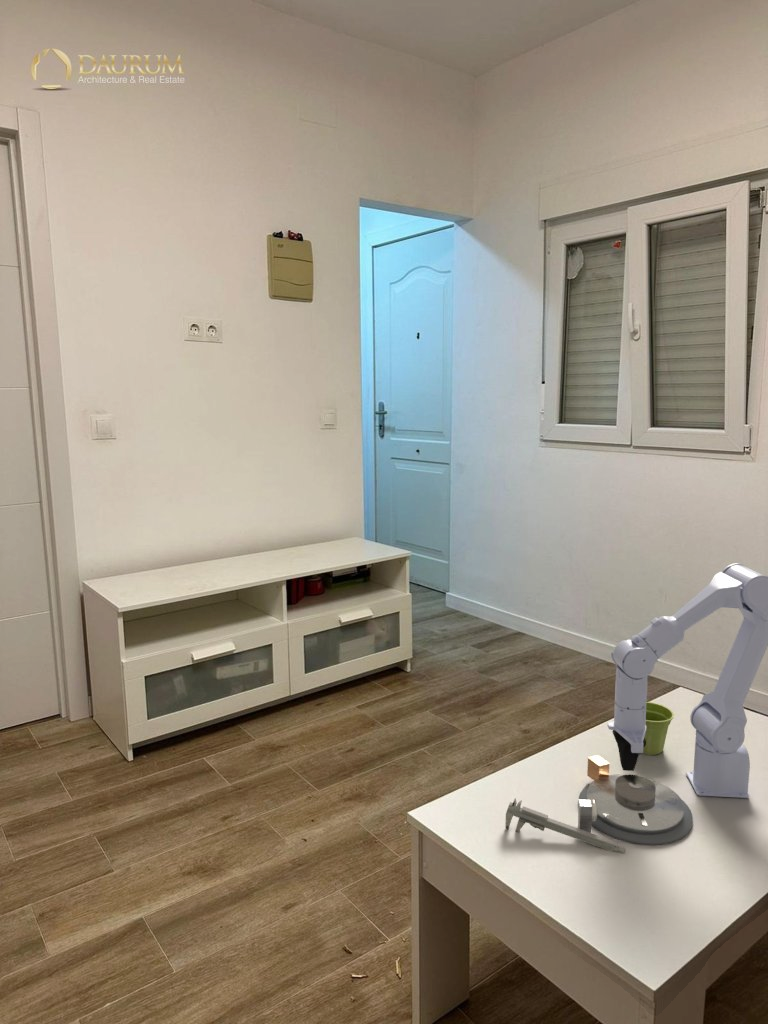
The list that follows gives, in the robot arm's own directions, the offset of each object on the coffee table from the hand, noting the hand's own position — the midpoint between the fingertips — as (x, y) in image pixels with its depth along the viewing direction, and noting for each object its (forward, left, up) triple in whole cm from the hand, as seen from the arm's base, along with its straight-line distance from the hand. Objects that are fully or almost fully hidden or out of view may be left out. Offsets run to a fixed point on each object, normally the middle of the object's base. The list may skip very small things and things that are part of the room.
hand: (627, 768), depth 141 cm
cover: (0, +7, -2) cm, 7 cm away
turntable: (0, +6, -3) cm, 7 cm away
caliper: (+14, +17, -5) cm, 22 cm away
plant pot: (-8, -17, -5) cm, 19 cm away
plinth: (0, +7, -5) cm, 8 cm away
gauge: (+10, +14, -5) cm, 18 cm away
